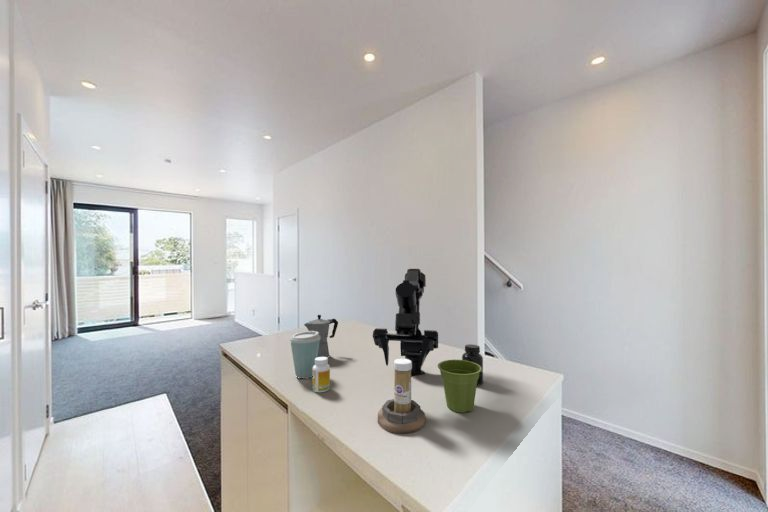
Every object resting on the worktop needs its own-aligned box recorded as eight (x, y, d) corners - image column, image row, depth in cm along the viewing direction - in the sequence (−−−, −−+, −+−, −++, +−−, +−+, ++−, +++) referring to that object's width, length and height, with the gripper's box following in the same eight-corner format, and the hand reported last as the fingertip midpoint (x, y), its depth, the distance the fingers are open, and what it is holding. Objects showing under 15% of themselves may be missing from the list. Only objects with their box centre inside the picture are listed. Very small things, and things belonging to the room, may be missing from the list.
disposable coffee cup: (297, 384, 100) (297, 338, 100) (284, 375, 108) (284, 332, 108) (325, 376, 107) (326, 333, 107) (311, 368, 115) (311, 328, 115)
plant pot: (435, 397, 90) (435, 359, 90) (475, 397, 89) (475, 359, 89) (441, 417, 78) (441, 373, 78) (487, 418, 77) (487, 374, 78)
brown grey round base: (370, 414, 80) (370, 400, 80) (411, 405, 84) (411, 393, 84) (389, 438, 68) (389, 422, 69) (434, 427, 73) (434, 412, 73)
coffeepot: (308, 363, 121) (308, 318, 121) (300, 357, 128) (300, 314, 129) (342, 356, 130) (342, 314, 130) (333, 351, 137) (333, 311, 138)
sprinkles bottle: (391, 417, 75) (392, 362, 75) (396, 408, 79) (396, 357, 80) (410, 419, 74) (410, 364, 74) (413, 410, 78) (413, 358, 79)
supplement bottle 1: (332, 387, 97) (332, 356, 97) (324, 394, 92) (324, 361, 92) (318, 385, 99) (318, 355, 99) (309, 391, 94) (309, 360, 94)
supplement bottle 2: (484, 386, 97) (484, 349, 97) (462, 385, 98) (462, 348, 99) (481, 378, 104) (481, 343, 104) (461, 377, 105) (461, 342, 106)
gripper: (373, 301, 89) (364, 349, 78) (437, 302, 86) (438, 353, 75) (379, 322, 97) (371, 369, 86) (438, 324, 93) (438, 373, 82)
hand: (403, 366), depth 82 cm, fingers open, 9 cm apart
